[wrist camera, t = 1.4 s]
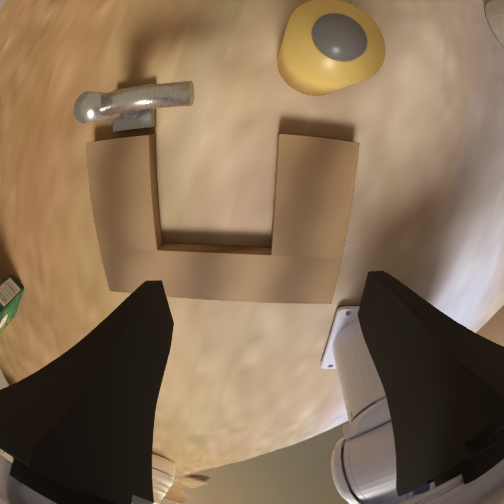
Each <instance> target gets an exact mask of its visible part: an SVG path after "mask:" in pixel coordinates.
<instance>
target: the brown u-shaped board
mask: <svg viewBox="0 0 504 504" xmlns="http://www.w3.org/2000/svg"><path fill="white" fill-rule="evenodd" d="M358 153H359V143H356V142H352V141H345V140H338V139H331V138H323V137H314V136H305V135H294V134H281V133H278V143H277V161H276V177H275V193H274V208H273V223H272V237H271V248H269V247H245V246H221V245H197V244H171V243H162V235H161V225H160V214H159V202H158V187H157V168H156V134H149V135H139V136H129V137H121V138H113V139H106V140H99V141H93V142H89V143H86V155H87V168H88V178H89V187H90V195H91V202H92V209H93V215H94V221H95V227H96V232H97V238H98V243H99V247H100V252H101V257H102V261H103V265H104V269H105V273H106V277H107V281H108V285H109V289H110V291H116V292H125V293H133V292H134V291H135V290H136V289H137V288H138V287H139V286H140V285H141V284H142V283H144V282H145V281H149V280H162V283H163V286H164V290H165V294H166V297H178V298H191V299H206V300H222V301H242V302H266V303H305V304H332V300H333V296H334V291H335V287H336V283H337V278H338V274H339V269H340V265H341V260H342V255H343V250H344V245H345V240H346V235H347V229H348V224H349V218H350V212H351V206H352V199H353V192H354V185H355V178H356V170H357V162H358Z"/></svg>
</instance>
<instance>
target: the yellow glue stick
mask: <svg viewBox="0 0 504 504" xmlns="http://www.w3.org/2000/svg"><path fill="white" fill-rule="evenodd" d="M384 57H385V44H384V39H383V36H382V34H381V32H380V30H379V28H378V27H377V25H376V24H375V22H374V21H373V20H372V19H371V18H370V17H369V16H368V15H367V14H366V13H365V12H363V11H362V10H361V9H359V8H357V7H356V6H354V5H352V4H350V3H347V2H344V1H341V0H311V1H308V2H306V3H304V4H302V5H301V6H299V7H298V8H297V9H296V10H295V11H294V12H293V13H292V15H291V16H290V18H289V21H288V24H287V27H286V30H285V33H284V37H283V40H282V43H281V47H280V50H279V53H278V58H277V65H278V69H279V72H280V74H281V76H282V78H283V79H284V80H285V82H286V83H287V84H288V85H289V86H291V87H292V88H293V89H295V90H297V91H299V92H301V93H304V94H307V95H314V96H319V95H325V94H329V93H331V92H334V91H337V90H339V89H342V88H345V87H347V86H350V85H353V84H356V83H359V82H362V81H364V80H367V79H369V78H370V77H372V76H373V75H374V74H376V73H377V71H378V70H379V69H380V67H381V66H382V64H383V61H384Z"/></svg>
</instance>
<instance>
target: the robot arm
mask: <svg viewBox="0 0 504 504" xmlns="http://www.w3.org/2000/svg"><path fill="white" fill-rule="evenodd" d="M347 311H350V312H348V313H346V312H347ZM173 325H174V322H173V319H172V315H171V312H170V308H169V305H168V301H167V298H166V294H165V290H164V286H163V283H162V280H149V281H145V282H144V283H142V284H141V285H140V286H139V287H138V288H137V289H136V290H135V291H134V292H133V293H132V294H131V295H130V296H129V297H128V298H126V299H125V300H124V301H123V302H122V303H121V304H120V305H119V306H118V307H117V308H116V309H115V310H114V311H113V312H112V313H111V314H110V315H109V316H108V317H107V318H106V319H104V320H103V321H102V322H101V323H100V324H99V325H98V326H97V327H96V328H94V329H93V330H92V331H91V332H90V333H89V334H88V335H87V336H86V337H84V338H83V339H82V340H81V341H80V342H78V343H77V344H76V345H75V346H73V347H72V348H71V349H69V350H68V351H67V352H65V353H64V354H63V355H61V356H60V357H58V358H57V359H55V360H54V361H52V362H51V363H49V364H48V365H46V366H45V367H43V368H42V369H40V370H39V371H37V372H35V373H34V374H32V375H30V376H28V377H26V378H25V379H23V380H21V381H19V382H17V383H15V384H13V385H11V386H8V387H6V388H4V389H2V390H0V449H2V450H3V451H5V452H6V453H7V454H9V455H10V456H12V457H13V458H14V460H13V463H12V462H10V461H9V460H7V459H6V458H5V457H3V456H2V455H0V504H153V503H154V497H153V483H152V444H153V429H154V418H155V409H156V404H157V399H158V395H159V391H160V387H161V383H162V379H163V375H164V371H165V367H166V363H167V359H168V355H169V352H170V348H171V341H172V333H173ZM321 368H322V369H335V368H337V372H338V376H339V380H340V384H341V388H342V393H343V397H344V401H345V406H346V410H347V415H348V419H349V424H347V425H345V426H343V433H344V438H342V439H340V440H339V441H338V442H337V444H336V446H335V449H334V451H333V453H332V458H331V470H332V476H333V480H334V483H335V486H336V488H337V490H338V492H339V494H340V495H341V496H342V497H343V498H344V499H345V500H346V501H347V502H348V503H349V504H504V347H503V346H501V345H498V344H496V343H494V342H492V341H490V340H487V339H486V338H484V337H482V336H480V335H478V334H476V333H474V332H473V331H471V330H469V329H468V328H466V327H464V326H462V325H461V324H459V323H457V322H456V321H454V320H453V319H451V318H450V317H448V316H447V315H445V314H444V313H442V312H441V311H439V310H438V309H437V308H435V307H434V306H432V305H431V304H430V303H428V302H427V301H425V300H424V299H423V298H421V297H420V296H419V295H417V294H416V293H415V292H413V291H412V290H411V289H409V288H408V287H406V286H405V285H404V284H402V283H401V282H400V281H398V280H397V279H395V278H394V277H392V276H391V275H389V274H388V273H386V272H384V271H373V272H368V276H367V280H366V284H365V288H364V292H363V296H362V300H361V303H360V306H342V307H340V308H338V309H337V312H336V315H335V319H334V322H333V326H332V329H331V333H330V336H329V339H328V342H327V346H326V349H325V352H324V355H323V358H322V361H321Z"/></svg>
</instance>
